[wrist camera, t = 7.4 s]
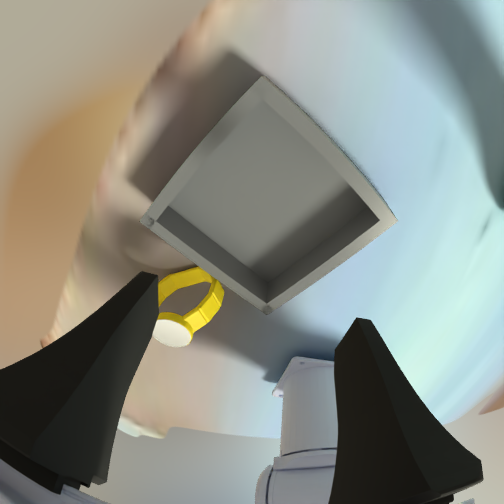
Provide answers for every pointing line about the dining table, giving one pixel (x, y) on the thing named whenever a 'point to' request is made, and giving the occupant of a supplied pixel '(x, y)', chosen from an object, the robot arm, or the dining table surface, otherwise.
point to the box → (268, 201)
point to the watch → (182, 327)
